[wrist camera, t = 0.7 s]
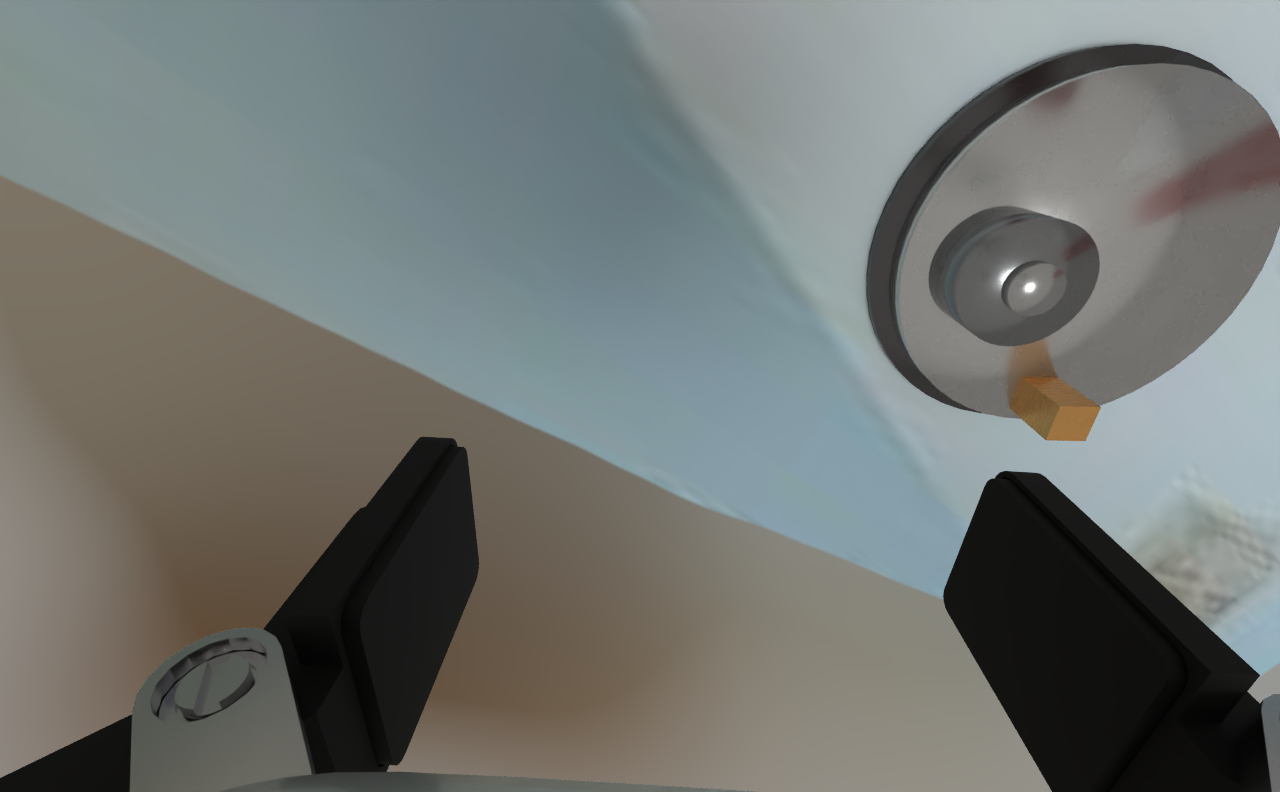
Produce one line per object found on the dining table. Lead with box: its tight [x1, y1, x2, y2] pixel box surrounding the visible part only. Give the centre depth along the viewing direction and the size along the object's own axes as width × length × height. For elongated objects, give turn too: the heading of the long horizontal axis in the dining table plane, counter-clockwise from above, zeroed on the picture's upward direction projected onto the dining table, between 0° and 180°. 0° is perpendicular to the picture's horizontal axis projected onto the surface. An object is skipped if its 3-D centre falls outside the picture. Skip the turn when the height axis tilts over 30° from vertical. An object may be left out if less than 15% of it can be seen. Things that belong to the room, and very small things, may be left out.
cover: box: [928, 206, 1100, 346], centre depth 31 cm, size 7×7×5 cm
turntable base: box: [867, 44, 1233, 413], centre depth 35 cm, size 23×23×1 cm
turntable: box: [889, 63, 1280, 441], centre depth 32 cm, size 21×21×6 cm
